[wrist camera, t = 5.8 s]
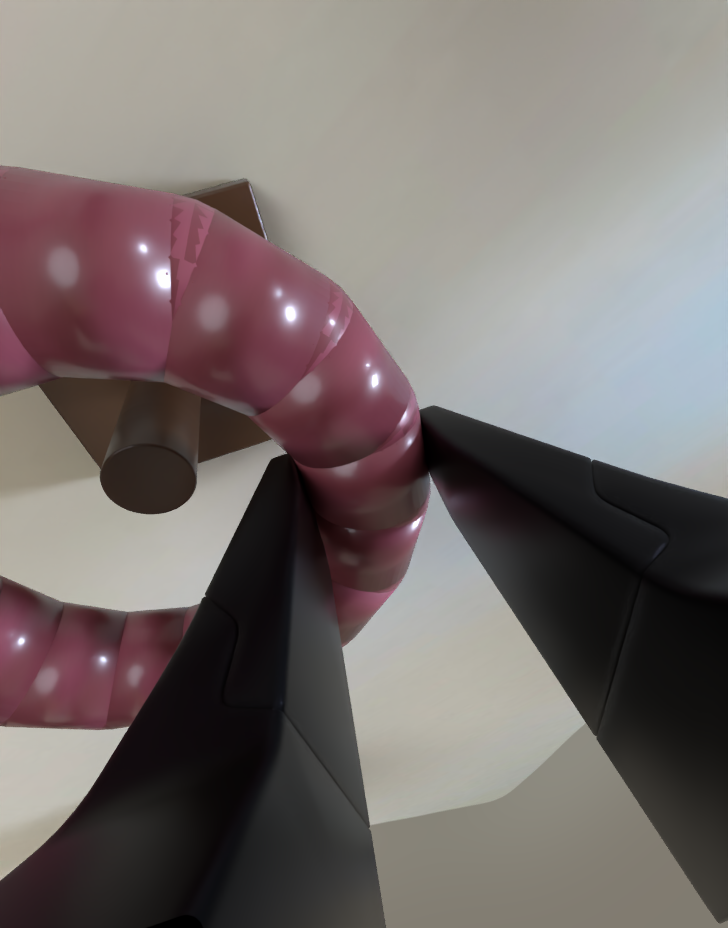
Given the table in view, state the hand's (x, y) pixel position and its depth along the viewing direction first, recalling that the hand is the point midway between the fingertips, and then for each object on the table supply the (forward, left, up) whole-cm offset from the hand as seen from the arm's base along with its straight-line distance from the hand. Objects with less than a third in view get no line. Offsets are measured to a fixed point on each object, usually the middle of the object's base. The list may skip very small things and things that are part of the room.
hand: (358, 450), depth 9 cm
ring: (-4, 0, 0) cm, 4 cm away
